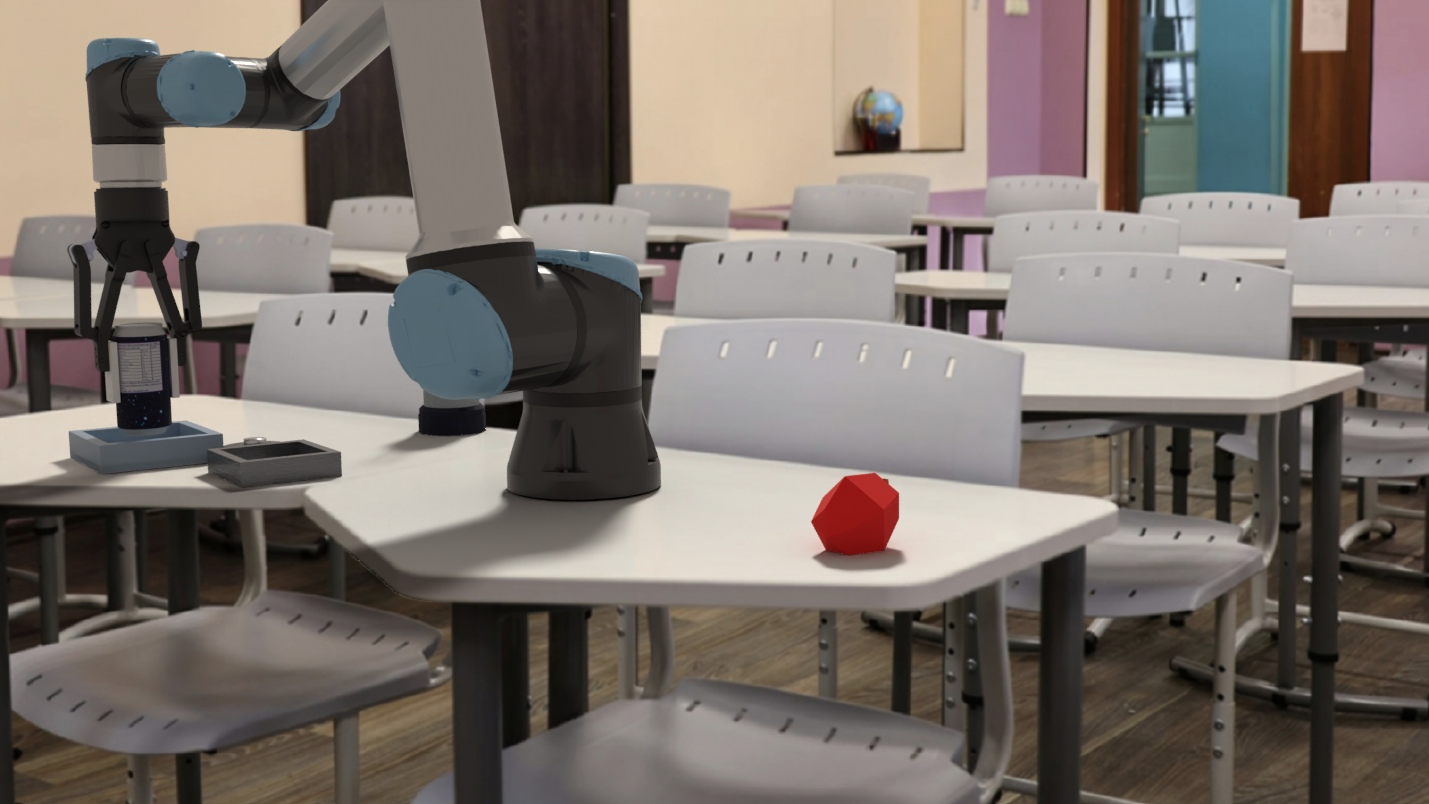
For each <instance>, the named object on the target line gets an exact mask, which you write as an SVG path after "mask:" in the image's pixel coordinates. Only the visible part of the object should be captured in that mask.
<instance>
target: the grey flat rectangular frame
mask: <svg viewBox="0 0 1429 804" xmlns="http://www.w3.org/2000/svg"><path fill="white" fill-rule="evenodd" d="M207 460H208V463H207V472H208V474H210V475H212V476H215V477H216V478H220V479H221V480H224V481H226V482H228V483H231V484H232V485H235V486H238V487H239V488H249V487H257V486H267V485H275V484H281V483H282V484H283V483H291V482H292V483H293V482H299V481H301V482H302V481H309V480H310V481H311V480H316V479H317V480H318V479H326V478H327V479H328V478H335V477H343V469H342V464H343V463H342V452H341V451H339V450H336V449H334V448H330V447H328V446H325V445H321V444H319V443H315V442H313V441H309V440H307V439H296V440H295V439H294V440H284V441H283V440H282V441H277V440H267V437H265V436H252V437H251V436H250V437H245V438H243V441H242V442H234V443H233V442H232V443H228V444H225V445H223V447H222V448H214V449H207Z"/></svg>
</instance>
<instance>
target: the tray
mask: <svg viewBox="0 0 1429 804" xmlns="http://www.w3.org/2000/svg"><path fill="white" fill-rule="evenodd" d="M68 442H69V456H70V459H72V460H74V461H76V462H78V463H79V464H82V465H83V466H85V467H87V468H89V469H91V470H93V471H95V472H97V473H98V474H101V475H104V474H105V475H106V474H113V473H114V474H116V473H124V472H134V471H143V470H150V469H151V470H152V469H162V468H170V467H181V466H189V465H199V464H208V460H207V449H214V448H222V447H223V446H224V435H223V433H221V432H219V431H216V430H214V429H211V428H208V427H205V426H203V425H199V424H197V423H194V422H192V421H189V420H176V421H175V420H174V421H172V424H171V425H170V426H169V427H168V428H167V429H166V432H165V433H162V434H157V435H148V436H129V435H125V432H123V431H122V430H121V429H119V428H118V427H117V426H109V427H97V428H89V429H88V428H87V429H76V430H75V429H74V430H68Z"/></svg>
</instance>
